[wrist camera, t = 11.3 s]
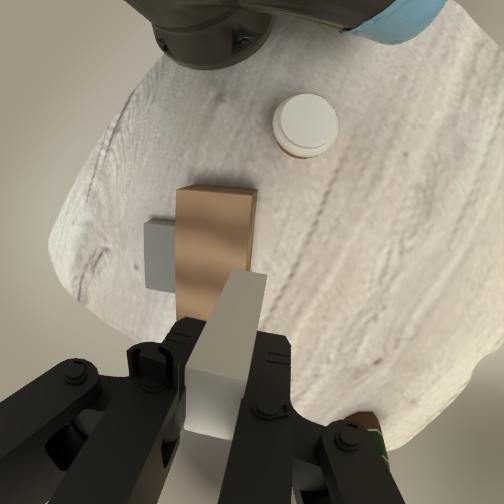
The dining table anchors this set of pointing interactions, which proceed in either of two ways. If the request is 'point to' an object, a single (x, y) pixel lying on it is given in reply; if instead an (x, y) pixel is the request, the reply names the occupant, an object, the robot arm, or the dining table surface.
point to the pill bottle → (305, 125)
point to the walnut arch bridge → (210, 244)
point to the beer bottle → (372, 430)
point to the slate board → (159, 255)
